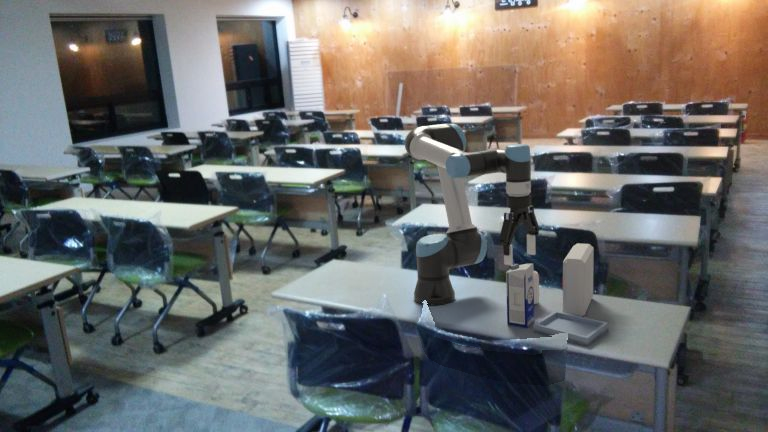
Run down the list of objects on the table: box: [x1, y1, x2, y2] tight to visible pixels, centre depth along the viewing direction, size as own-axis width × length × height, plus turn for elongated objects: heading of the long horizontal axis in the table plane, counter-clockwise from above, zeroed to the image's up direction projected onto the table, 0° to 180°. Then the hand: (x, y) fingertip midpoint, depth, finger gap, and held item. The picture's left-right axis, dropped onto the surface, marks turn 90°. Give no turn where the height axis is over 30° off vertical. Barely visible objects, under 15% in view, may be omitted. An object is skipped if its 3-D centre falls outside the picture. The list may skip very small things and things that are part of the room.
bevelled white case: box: [561, 243, 595, 317], centre depth 212 cm, size 21×8×20 cm, turn 154°
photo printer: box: [534, 270, 540, 305], centre depth 217 cm, size 10×4×12 cm, turn 123°
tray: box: [532, 310, 609, 347], centre depth 194 cm, size 18×14×2 cm
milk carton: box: [505, 262, 535, 329], centre depth 201 cm, size 7×7×20 cm
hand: (520, 259), depth 199 cm, fingers open, 13 cm apart
